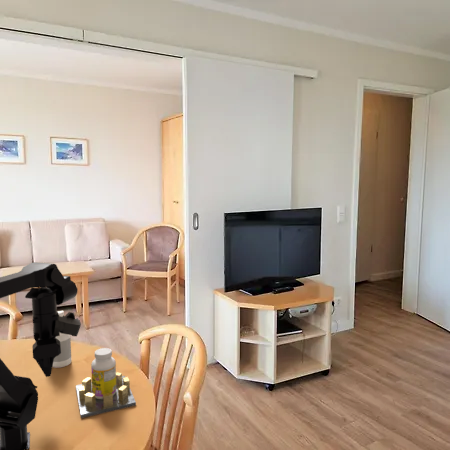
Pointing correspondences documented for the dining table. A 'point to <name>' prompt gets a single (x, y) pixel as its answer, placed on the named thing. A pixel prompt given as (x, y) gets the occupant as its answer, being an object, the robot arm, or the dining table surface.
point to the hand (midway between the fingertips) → (47, 368)
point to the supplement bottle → (103, 373)
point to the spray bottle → (63, 348)
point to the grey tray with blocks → (104, 397)
